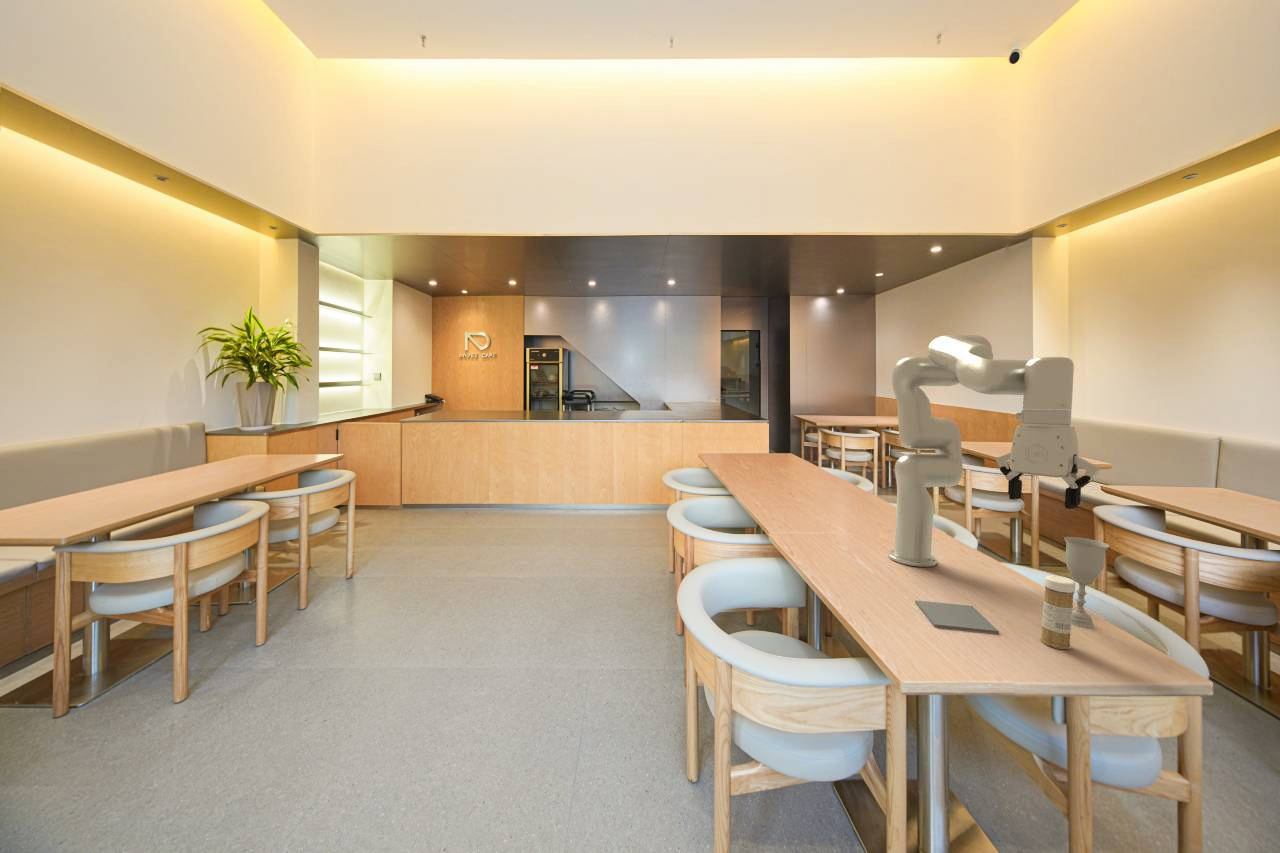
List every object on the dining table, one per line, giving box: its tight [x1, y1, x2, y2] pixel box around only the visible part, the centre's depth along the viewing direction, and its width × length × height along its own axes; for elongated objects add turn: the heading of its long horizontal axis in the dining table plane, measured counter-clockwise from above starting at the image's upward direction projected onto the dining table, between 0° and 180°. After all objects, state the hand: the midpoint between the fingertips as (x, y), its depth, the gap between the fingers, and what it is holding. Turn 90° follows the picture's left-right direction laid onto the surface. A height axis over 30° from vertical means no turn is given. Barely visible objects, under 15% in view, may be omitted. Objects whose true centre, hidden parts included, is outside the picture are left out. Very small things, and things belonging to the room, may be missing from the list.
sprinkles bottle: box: [1040, 574, 1076, 650], centre depth 96 cm, size 5×5×14 cm
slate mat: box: [914, 599, 999, 635], centre depth 107 cm, size 12×12×1 cm
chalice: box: [1063, 536, 1110, 629], centre depth 105 cm, size 7×7×18 cm
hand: (1042, 503), depth 98 cm, fingers open, 9 cm apart
